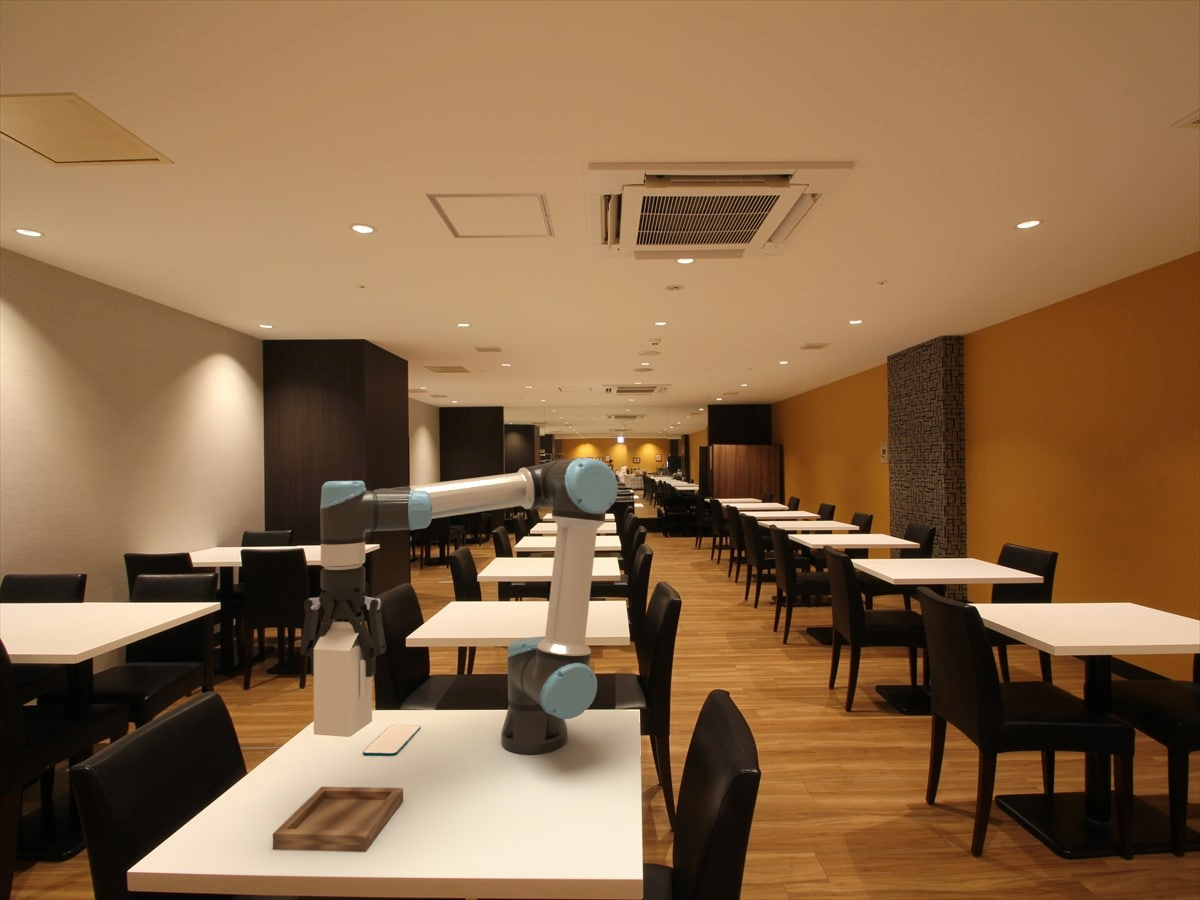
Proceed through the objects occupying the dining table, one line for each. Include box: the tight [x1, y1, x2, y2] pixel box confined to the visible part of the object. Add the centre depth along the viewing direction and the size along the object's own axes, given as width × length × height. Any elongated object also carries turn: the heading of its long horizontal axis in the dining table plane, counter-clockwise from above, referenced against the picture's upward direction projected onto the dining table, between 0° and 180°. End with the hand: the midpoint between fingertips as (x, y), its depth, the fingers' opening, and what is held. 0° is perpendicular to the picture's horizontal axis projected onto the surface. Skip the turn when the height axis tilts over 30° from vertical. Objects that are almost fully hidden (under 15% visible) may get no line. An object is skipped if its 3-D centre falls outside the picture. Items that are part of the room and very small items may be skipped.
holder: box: [272, 786, 404, 852], centre depth 116 cm, size 16×16×2 cm
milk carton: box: [313, 620, 373, 738], centre depth 117 cm, size 7×7×19 cm
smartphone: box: [362, 724, 421, 757], centre depth 151 cm, size 8×1×16 cm
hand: (343, 694), depth 117 cm, fingers closed on milk carton, 7 cm apart
